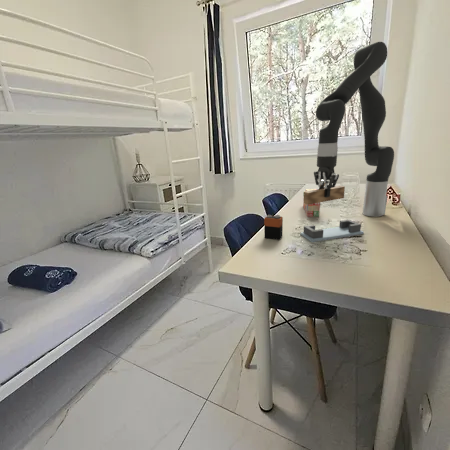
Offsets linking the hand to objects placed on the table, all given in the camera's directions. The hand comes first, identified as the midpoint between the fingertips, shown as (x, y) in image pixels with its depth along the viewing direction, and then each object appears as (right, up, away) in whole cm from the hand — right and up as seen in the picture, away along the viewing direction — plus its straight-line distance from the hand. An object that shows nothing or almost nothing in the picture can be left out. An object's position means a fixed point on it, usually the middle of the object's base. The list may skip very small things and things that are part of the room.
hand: (324, 196), depth 108 cm
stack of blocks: (+6, -5, +34) cm, 35 cm away
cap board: (+3, -16, -1) cm, 17 cm away
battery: (-22, -18, 0) cm, 28 cm away
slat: (0, -2, +1) cm, 2 cm away
